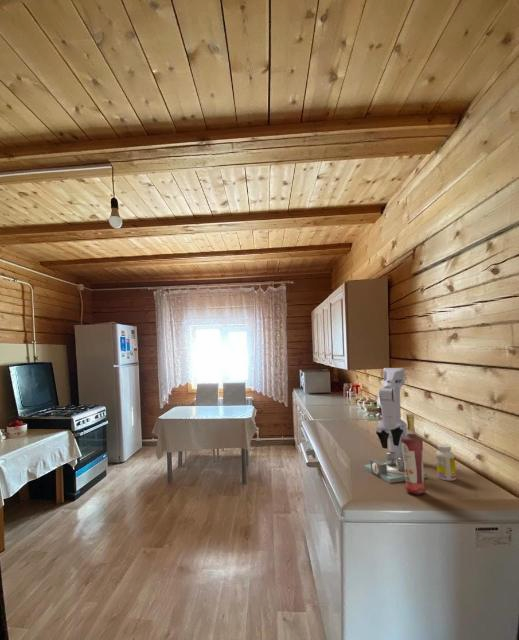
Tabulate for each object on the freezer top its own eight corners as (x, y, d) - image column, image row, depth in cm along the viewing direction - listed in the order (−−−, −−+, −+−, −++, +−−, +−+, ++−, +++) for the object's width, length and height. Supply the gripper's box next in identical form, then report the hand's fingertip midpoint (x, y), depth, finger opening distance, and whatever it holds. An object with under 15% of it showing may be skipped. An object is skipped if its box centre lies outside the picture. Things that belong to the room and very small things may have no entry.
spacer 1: (389, 462, 151) (389, 450, 151) (398, 464, 147) (397, 453, 148) (383, 464, 149) (383, 452, 149) (392, 466, 145) (391, 454, 145)
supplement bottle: (454, 476, 138) (451, 444, 140) (458, 482, 132) (455, 448, 133) (436, 474, 140) (434, 443, 142) (439, 480, 134) (436, 447, 136)
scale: (398, 464, 155) (397, 452, 155) (427, 477, 137) (426, 464, 138) (363, 468, 150) (362, 456, 150) (388, 483, 132) (387, 469, 133)
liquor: (431, 495, 120) (425, 415, 123) (413, 497, 119) (407, 417, 122) (417, 487, 127) (412, 412, 131) (400, 489, 126) (395, 413, 129)
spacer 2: (404, 468, 143) (403, 456, 144) (411, 471, 139) (410, 458, 139) (395, 469, 142) (394, 457, 142) (402, 472, 138) (401, 460, 138)
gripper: (391, 412, 157) (393, 442, 155) (370, 416, 150) (372, 447, 148) (404, 414, 151) (407, 445, 149) (383, 418, 144) (385, 451, 142)
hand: (390, 446), depth 148 cm, fingers open, 7 cm apart
